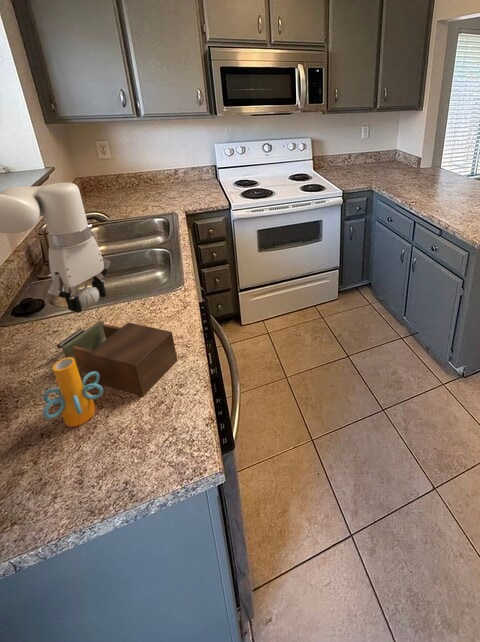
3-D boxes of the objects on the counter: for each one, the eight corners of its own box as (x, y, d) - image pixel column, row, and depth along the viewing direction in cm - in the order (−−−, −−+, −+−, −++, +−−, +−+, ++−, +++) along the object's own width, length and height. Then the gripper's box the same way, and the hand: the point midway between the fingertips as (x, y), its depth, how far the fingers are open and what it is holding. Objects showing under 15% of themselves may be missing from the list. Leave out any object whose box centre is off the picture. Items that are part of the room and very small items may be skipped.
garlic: (88, 297, 91) (83, 279, 90) (107, 298, 91) (102, 280, 89) (69, 311, 86) (63, 292, 84) (90, 313, 85) (84, 294, 83)
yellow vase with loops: (117, 393, 88) (104, 343, 83) (100, 431, 78) (83, 378, 73) (63, 401, 86) (46, 350, 81) (38, 441, 76) (17, 386, 71)
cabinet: (97, 383, 91) (88, 353, 88) (135, 350, 102) (128, 322, 99) (143, 396, 87) (135, 365, 84) (177, 360, 98) (172, 331, 95)
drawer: (53, 366, 96) (45, 342, 93) (91, 339, 106) (84, 316, 103) (109, 382, 90) (102, 357, 88) (143, 351, 101) (138, 328, 98)
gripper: (91, 221, 91) (106, 283, 97) (19, 250, 75) (42, 321, 81) (114, 224, 89) (128, 287, 95) (44, 254, 73) (66, 327, 79)
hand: (88, 302), depth 88 cm, fingers closed on garlic, 6 cm apart
